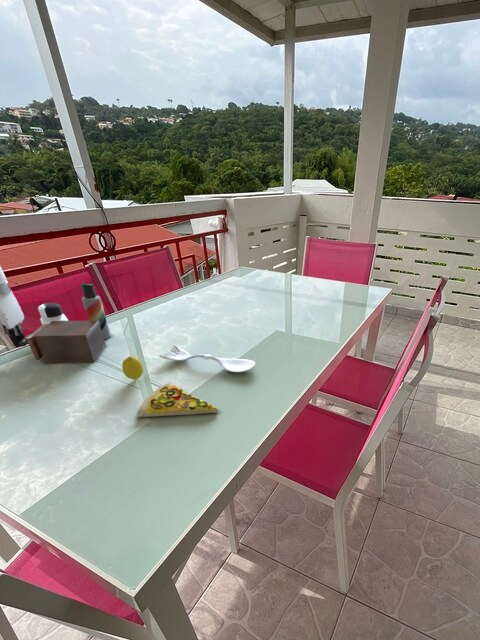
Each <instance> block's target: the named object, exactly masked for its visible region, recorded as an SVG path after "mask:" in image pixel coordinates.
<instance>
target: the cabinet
mask: <svg viewBox="0 0 480 640" xmlns="http://www.w3.org/2000/svg"><path fill="white" fill-rule="evenodd" d="M34 337H35V339H36V341H37V344H38V346H39V348H40V351H41V353H42V355H43V358H42V359H43V360H44V362H45V364H73V363H95V362H96V360H98V358H99V356H100V355H101V353H102V352H103V351H104V349H105V348H106V347H107V344H106V341H105V340H106V339H105V340H104V337H103V334H102V330H101V327H100V324H99V321H89V320H68V321H52V322H50V323H49V324H48V325H47V326H46V327H44V328H43V329H42V330H41V331H40V332H39V333H37V334H36V335H35V336H34Z"/></svg>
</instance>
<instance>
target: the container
mask: <svg viewBox="0 0 480 640" xmlns="http://www.w3.org/2000/svg"><path fill="white" fill-rule="evenodd" d="M37 310H38V312H39V315H40V318H39V321H40V323H41V326H42V325H43V324H47V325H48V324H49V323H50V322H52V321H69V319H68V318H67V316H66V315H65V314H64V312H63V309H62V307H61V304H58V303H56V302H46V303H42V304H40V305H39V306H38V307H37Z"/></svg>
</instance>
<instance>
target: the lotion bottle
mask: <svg viewBox="0 0 480 640" xmlns="http://www.w3.org/2000/svg"><path fill="white" fill-rule="evenodd" d="M80 287H81V290H82V294H83V296H82V298H81V301H82V304H83V308H84V310H85V313H86V316H87V321H99V324H100V327H101V330H102V334H103V337H104V340H108V339H110V338H111V337H112V334H111V329H110V326H109V323H108V319H107V316H106V312H105V309H104V305H103V302H102V299H101V297H100V296H99V295H98V294H97V292H96V289H95V286H94V284H92V283H81V284H80Z"/></svg>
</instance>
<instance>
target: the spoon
mask: <svg viewBox="0 0 480 640" xmlns="http://www.w3.org/2000/svg"><path fill="white" fill-rule="evenodd" d="M158 356H159V358H161V359H165V360H169V361H176V362H186V361H189V360H191V359H195V358H202V359H204V360H213V361H216V363H218V364H219V365H220V366H221V367H222V368H223V369H224V370H226V371H227V372H232V373H246V372H249V371H252V370H254V368H255V367H256V362H255V361H254V360H251V359H245V358H225V357H224V358H222V357H217V356H213V355H211V354H203V353H195V354H190V353H189V352H188V351H187V350H184V349H182V348H180V347H179V346H177V345H175V344H172V347H171V349H169V351H167V353H163V354H159V355H158Z"/></svg>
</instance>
